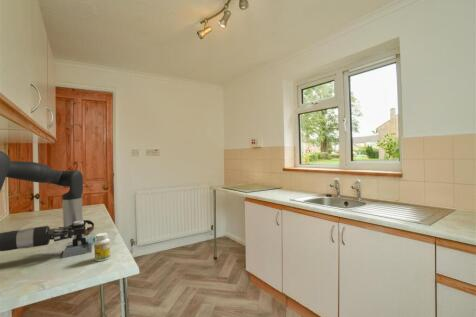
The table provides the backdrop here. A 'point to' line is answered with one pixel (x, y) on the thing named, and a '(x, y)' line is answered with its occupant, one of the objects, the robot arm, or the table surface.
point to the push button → (78, 238)
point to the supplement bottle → (102, 247)
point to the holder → (78, 249)
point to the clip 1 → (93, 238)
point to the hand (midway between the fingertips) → (84, 229)
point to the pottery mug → (89, 229)
